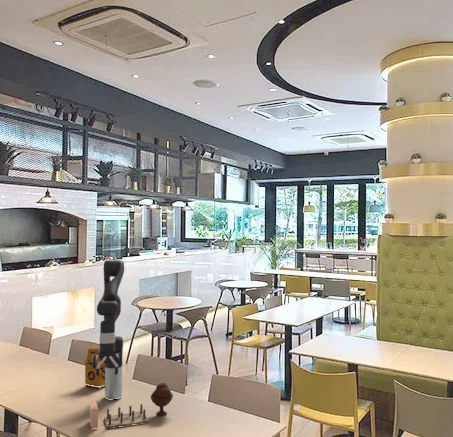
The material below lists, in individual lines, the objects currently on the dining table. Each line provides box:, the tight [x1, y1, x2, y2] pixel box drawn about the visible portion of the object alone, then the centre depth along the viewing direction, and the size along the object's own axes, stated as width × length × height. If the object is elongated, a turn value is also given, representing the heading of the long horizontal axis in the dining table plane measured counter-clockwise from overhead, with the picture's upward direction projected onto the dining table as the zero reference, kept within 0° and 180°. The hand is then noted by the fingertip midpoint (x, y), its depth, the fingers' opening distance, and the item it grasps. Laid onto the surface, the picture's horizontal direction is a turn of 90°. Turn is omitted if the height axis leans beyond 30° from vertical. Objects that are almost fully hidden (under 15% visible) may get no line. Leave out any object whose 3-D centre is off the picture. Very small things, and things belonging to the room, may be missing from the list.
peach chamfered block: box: [89, 400, 99, 429], centre depth 216 cm, size 10×3×10 cm, turn 22°
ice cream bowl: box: [150, 382, 174, 417], centre depth 229 cm, size 11×11×15 cm
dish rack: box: [103, 403, 149, 429], centre depth 221 cm, size 12×19×6 cm, turn 112°
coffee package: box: [84, 347, 105, 386], centre depth 270 cm, size 10×12×22 cm
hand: (106, 375), depth 226 cm, fingers open, 8 cm apart
